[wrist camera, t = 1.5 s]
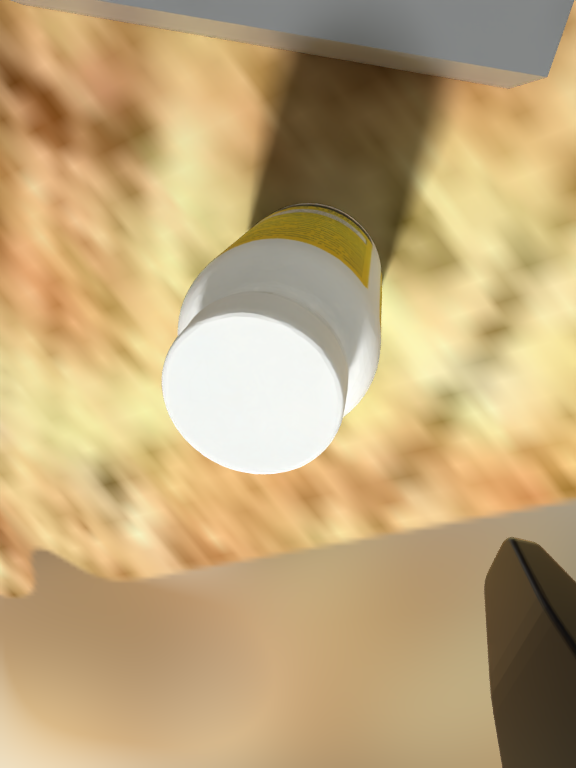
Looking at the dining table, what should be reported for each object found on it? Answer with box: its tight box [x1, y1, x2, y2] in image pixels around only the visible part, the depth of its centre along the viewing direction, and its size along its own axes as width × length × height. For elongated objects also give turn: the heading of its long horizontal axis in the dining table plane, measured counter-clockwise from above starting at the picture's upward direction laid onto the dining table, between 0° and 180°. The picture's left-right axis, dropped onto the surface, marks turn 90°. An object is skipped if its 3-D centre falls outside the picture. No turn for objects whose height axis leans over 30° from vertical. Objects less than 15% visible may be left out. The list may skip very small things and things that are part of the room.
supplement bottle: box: [162, 203, 382, 474], centre depth 15 cm, size 5×5×10 cm
